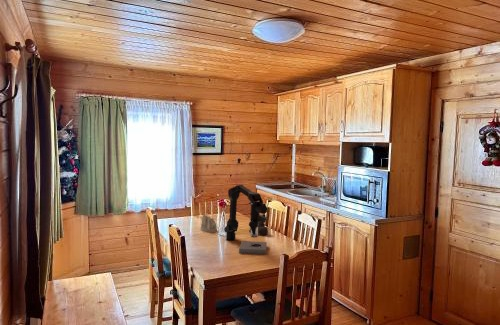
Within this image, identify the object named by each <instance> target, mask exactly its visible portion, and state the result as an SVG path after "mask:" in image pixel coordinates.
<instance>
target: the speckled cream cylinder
mask: <svg viewBox="0 0 500 325" xmlns="http://www.w3.org/2000/svg"><path fill="white" fill-rule="evenodd" d="M258 236H259V234H258V227H257V228H256V232H255V235H253V233H252V230H251V233H250V238H258Z"/></svg>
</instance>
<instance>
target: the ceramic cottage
mask: <svg viewBox="0 0 500 325" xmlns="http://www.w3.org/2000/svg"><path fill="white" fill-rule="evenodd" d="M202 214H203V215H202V217H201V224H200V225H201V226H200V231H201V232H204V233H216V232H218V229H217V228H218V227H217V222H216V221H215V219H214V218H213V217H211V216H208V215H206V213H205V212H204V213H202Z"/></svg>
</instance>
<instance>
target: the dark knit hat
mask: <svg viewBox="0 0 500 325" xmlns="http://www.w3.org/2000/svg"><path fill="white" fill-rule="evenodd" d="M257 222H259V224H258V235H261V236H267V235H268V234H269V233H268V232H269V229H268V227H267V226H266V225H265V224H266V223H264V222H262V221H257ZM248 232H249V233H250V234H251V228H249V231H248Z"/></svg>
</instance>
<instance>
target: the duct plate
mask: <svg viewBox="0 0 500 325" xmlns="http://www.w3.org/2000/svg"><path fill="white" fill-rule="evenodd" d="M240 242H241V243H240V245H239V247H238V254H247V255H249V254H251V255H266V252H267V245H268V243H267V241H255V240H254V241H253V240H252V241H251V240H242V241H240Z"/></svg>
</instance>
